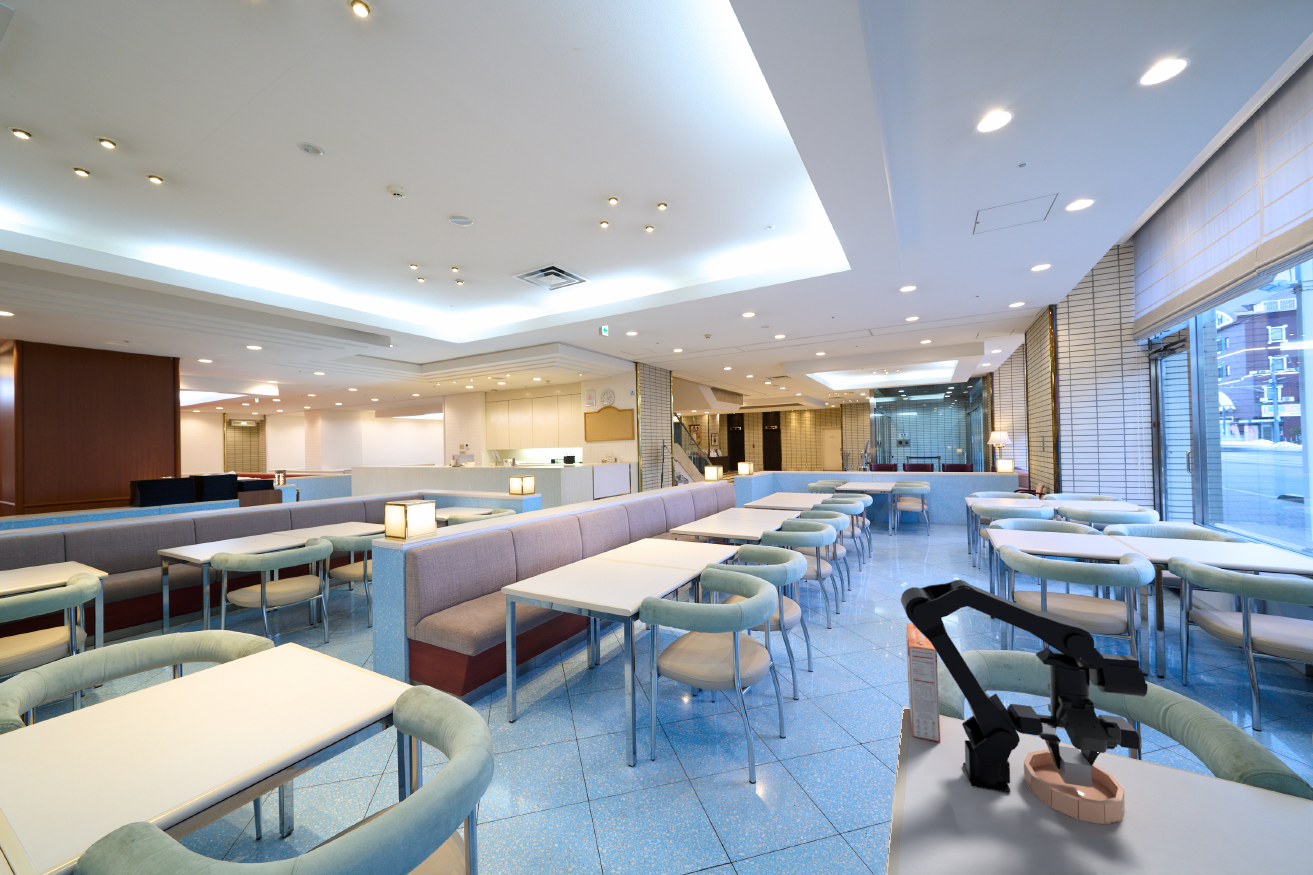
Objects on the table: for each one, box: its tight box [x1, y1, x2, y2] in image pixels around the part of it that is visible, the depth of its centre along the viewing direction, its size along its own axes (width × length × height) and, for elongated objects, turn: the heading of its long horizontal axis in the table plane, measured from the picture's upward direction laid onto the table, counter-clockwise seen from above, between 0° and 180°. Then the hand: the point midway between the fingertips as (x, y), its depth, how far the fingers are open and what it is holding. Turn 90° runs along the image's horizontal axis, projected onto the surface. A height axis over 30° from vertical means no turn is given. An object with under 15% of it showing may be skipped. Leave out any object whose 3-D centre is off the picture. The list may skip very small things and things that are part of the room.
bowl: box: [1023, 749, 1126, 825], centre depth 92 cm, size 14×14×4 cm
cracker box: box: [905, 623, 941, 743], centre depth 115 cm, size 14×6×21 cm, turn 155°
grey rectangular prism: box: [1053, 745, 1092, 788], centre depth 92 cm, size 4×5×4 cm
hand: (1071, 769), depth 92 cm, fingers closed on grey rectangular prism, 4 cm apart
